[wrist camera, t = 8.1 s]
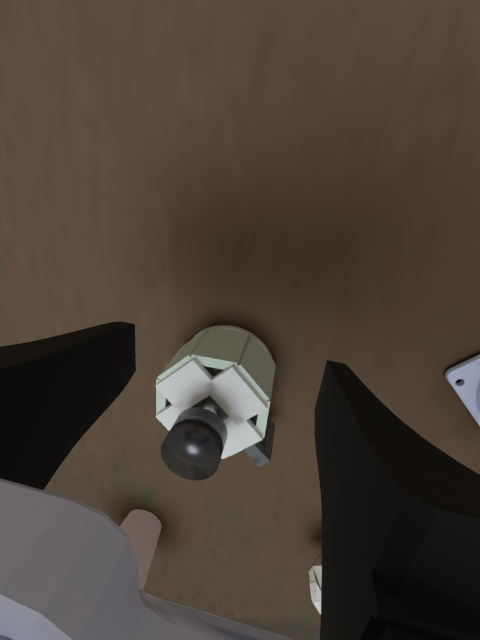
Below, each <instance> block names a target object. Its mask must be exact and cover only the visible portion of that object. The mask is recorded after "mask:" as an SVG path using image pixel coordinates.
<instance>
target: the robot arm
mask: <svg viewBox="0 0 480 640" xmlns="http://www.w3.org/2000/svg"><path fill="white" fill-rule="evenodd" d="M135 371H136V364H135V324H131V323H125V322H112V323H107V324H102V325H98V326H94V327H90V328H87V329H83V330H79V331H75V332H71V333H67V334H63V335H59V336H54V337H50V338H46V339H41V340H37V341H32V342H27V343H21V344H15V345H9V346H3V347H0V640H295V639H292V638H289V637H286V636H282V635H279V634H276V633H272V632H269V631H266V630H263V629H259V628H256V627H253V626H249V625H246V624H243V623H239V622H236V621H233V620H230V619H226V618H223V617H220V616H216V615H213V614H210V613H206V612H203V611H200V610H197V609H193V608H190V607H187V606H183V605H180V604H177V603H173V602H170V601H167V600H164V599H160V598H157V597H154V596H152V595H150V594H148V593H146V592H144V591H142V590H140V589H138V564H137V561H136V558H135V555H134V553H133V550H132V547H131V545H130V542H129V539H128V537H127V534H126V533H125V532H124V531H123V530H122V529H121V528H120V527H119V526H118V525H117V524H116V523H114V522H113V521H112V520H111V519H110V518H109V517H108V516H107V515H106V514H105V513H104V512H102V511H100V510H98V509H96V508H93V507H91V506H89V505H87V504H85V503H83V502H80V501H78V500H76V499H74V498H70V497H67V496H63V495H59V494H56V493H52V492H48V491H45V490H44V488H45V487H46V485H47V484H48V482H49V481H50V479H51V478H52V476H53V475H54V473H55V472H56V470H57V469H58V468H59V466H60V465H61V464H62V462H63V461H64V459H65V458H66V457H67V455H68V454H69V452H70V451H71V450H72V448H73V447H74V446H75V444H76V443H77V442H78V441H79V440H80V438H81V437H82V436H83V435H84V434H85V432H86V431H87V430H88V429H89V428H90V427H91V426H92V425H93V424H94V422H95V421H96V420H97V419H98V418H99V417H100V416H101V415H102V414H103V412H104V411H105V410H106V409H107V408H108V407H109V406H110V405H111V404H112V402H113V401H114V400H115V399H116V398H117V397H118V396H119V394H120V393H121V392H122V391H123V389H124V388H125V386H126V385H127V384H128V382H129V380H130V379H131V377H132V376H133V374H134V372H135ZM445 376H446V378H447V380H448V381H449V383H450V384H451V386H452V387H453V388H454V390H455V391H456V393H457V394H458V396H459V397H460V399H461V400H462V401H463V403H464V404H465V406H466V407H467V409H468V410H469V412H470V413H471V414H472V416H473V417H474V419H475V420H476V422H477V423H478V425H479V426H480V354H479V355H477V356H475V357H473V358H471V359H469V360H466V361H464V362H462V363H460V364H458V365H456V366H454V367H452V368H450V369H448V370H447V371H446V373H445ZM458 379H462V380H461V381H460V382H459V383H455V382H456V381H457V380H458ZM314 433H315V443H316V453H317V462H318V471H319V480H320V489H321V502H322V586H321V629H320V640H480V475H479V474H478V473H476V472H474V471H472V470H471V469H469V468H467V467H466V466H464V465H463V464H461V463H459V462H458V461H456V460H455V459H453V458H452V457H450V456H449V455H447V454H446V453H444V452H443V451H441V450H440V449H438V448H437V447H435V446H434V445H432V444H431V443H430V442H428V441H427V440H425V439H424V438H423V437H421V436H420V435H419V434H417V433H416V432H415V431H414V430H412V429H411V428H410V427H409V426H407V425H406V424H405V423H404V422H402V421H401V420H400V419H399V418H398V417H397V416H395V415H394V414H393V413H392V412H391V411H390V410H389V409H388V408H387V407H386V406H385V405H384V404H383V403H382V402H381V401H380V400H379V399H378V398H377V397H376V396H375V395H374V394H373V393H372V392H371V391H370V390H369V389H368V388H367V387H366V386H365V385H364V384H363V383H362V381H361V380H360V379H359V378H358V377H357V376H356V375H355V374H354V373H353V371H352V370H351V369H350V368H349V367H348V366H347V365H346V364H344V363H338V362H333V361H328V360H327V363H326V367H325V371H324V375H323V379H322V383H321V387H320V391H319V395H318V399H317V403H316V407H315V432H314Z"/></svg>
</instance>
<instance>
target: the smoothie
mask: <svg viewBox="0 0 480 640" xmlns="http://www.w3.org/2000/svg"><path fill="white" fill-rule="evenodd" d="M120 528H121V529H122V530H123V531H124V532H125V533H126V534H127V537H128V539H129V542H130V545H131V547H132V550H133V553H134V555H135V558H136V561H137V564H138V589H140V590H142V591H143V589H144V586H145V582H146V579H147V575H148V572H149V569H150V565H151V562H152V559H153V555H154V552H155V548H156V545H157V542H158V538H159V535H160V532H161V528H162V526H161V522H160V520H159V519H158V518H157V517H156V516H155V515H154V514H152V513H151V512H149V511H146V510H142V509H136V510H132V511H131V512H130V513H129V514H128V515H127V517H126V518H125V520H124V521H123V523H122V524H121V525H120Z"/></svg>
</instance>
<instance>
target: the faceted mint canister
mask: <svg viewBox="0 0 480 640" xmlns="http://www.w3.org/2000/svg"><path fill="white" fill-rule="evenodd" d="M204 366H207V367H212V368H218V369H223V371H222V372H220V373H219V374H217V375H216V376H214V377H212V376H211V374H210V373H209V372H208V371H207V370H206V369H205V367H204ZM275 369H276V366H275V362H274V361H273V358H272V355H271V353H270V351H269V350H268V348H267V347H266V345H265V344H264V343H263V342H262V341H261V340H260V339H259V338H258V337H257V336H255V335H254V334H252V333H251V332H249V331H247V330H245V329H243V328H240V327H236V326H231V325H217V326H212V327H208V328H206V329H204V330H202V331H200V332H199V333H197V334H196V335H195V336H194V337H193V338H192V339H191V340H190V341H189V342H188V343H186V344H185V345H183V346H182V347H181V348H180V350H179V351H178V352H177V353H176V355H175V356H174V357H173V358H172V360H171V361H170V362H169V363H168V365H167V366H166V367H165V368H164V370H163V371H162V372H161V373H160V375H159V376H158V378H157V379H156V416H155V417H156V418H157V419H158V420H159V421H160V422H161V423H162V424H163V425H164V426H165V427H166V428H167V429H168V430H169V431H170V429H171V428H172V426H173V424H174V422H175V421H176V419H177V417H178V416H179V414H180V413H181V412H183V411H184V410H186V409H189V408H203V406H204V404H205V402H206V400H207V399H206V397H208V396H211V397H212V398H213V399H214V400H215V401H216V403H217V404H218V405H219V409H218V411H217V415H218V416H219V417H220V418H221V419H222V420H223V422H224V423H225V425H226V428H227V432H228V436H227V440H226V443H225V446H224V450H223V453H222V456H221V458H222V459H224V458H226V457H228V456H231V455H233V454H235V453H237V452H239V451H241V450H244V451H245V452H246V453H247V454H248V456H249V457H250V458H251V459H252V461H253V462H254V463H255V464H256V465H257V467H260V466H262V465H264V464H267V463H269V462H270V461H271V453H272V445H273V437H274V429H275V424H274V423H273V422H272V420H271V419H270V418H268V412H269V406H270V400H271V394H272V388H273V382H274V376H275Z"/></svg>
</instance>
